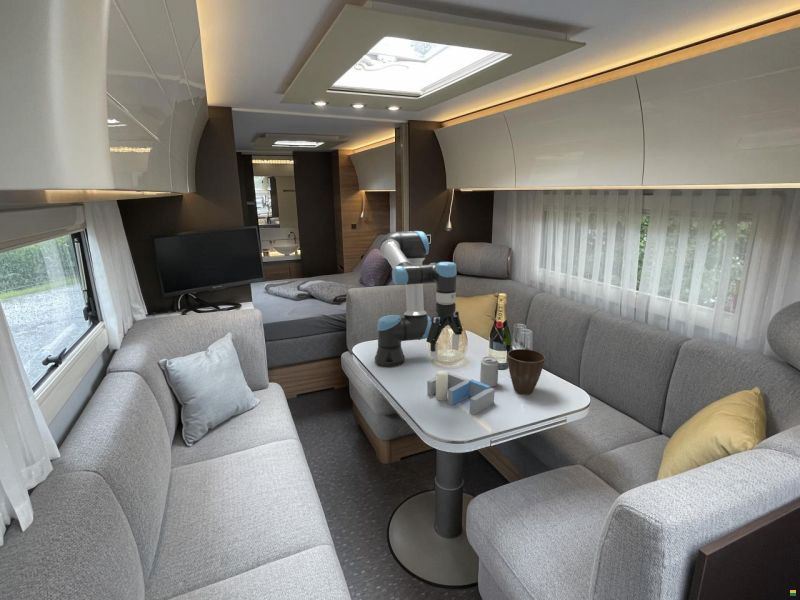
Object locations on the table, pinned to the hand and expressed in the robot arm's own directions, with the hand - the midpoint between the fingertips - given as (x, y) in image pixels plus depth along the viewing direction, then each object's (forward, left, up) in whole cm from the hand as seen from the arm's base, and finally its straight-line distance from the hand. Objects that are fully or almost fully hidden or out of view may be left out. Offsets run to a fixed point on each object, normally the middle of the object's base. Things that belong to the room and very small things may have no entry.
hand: (445, 353), depth 159 cm
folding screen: (+5, +4, -19) cm, 20 cm away
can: (+6, +23, -19) cm, 31 cm away
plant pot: (+20, +28, -19) cm, 40 cm away
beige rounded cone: (0, -1, -19) cm, 19 cm away
